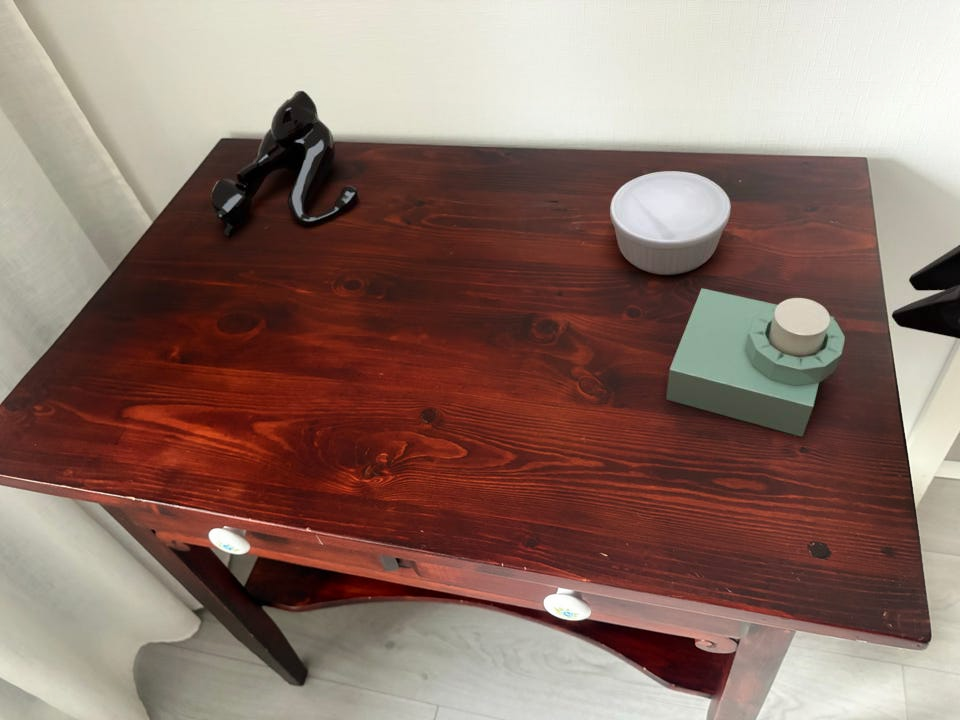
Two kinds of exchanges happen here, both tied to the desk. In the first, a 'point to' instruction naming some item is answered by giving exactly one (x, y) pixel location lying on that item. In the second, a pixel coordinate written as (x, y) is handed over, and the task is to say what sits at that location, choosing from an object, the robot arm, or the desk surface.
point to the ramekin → (669, 221)
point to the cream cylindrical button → (799, 327)
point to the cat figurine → (285, 166)
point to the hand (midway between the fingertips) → (903, 301)
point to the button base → (747, 365)
